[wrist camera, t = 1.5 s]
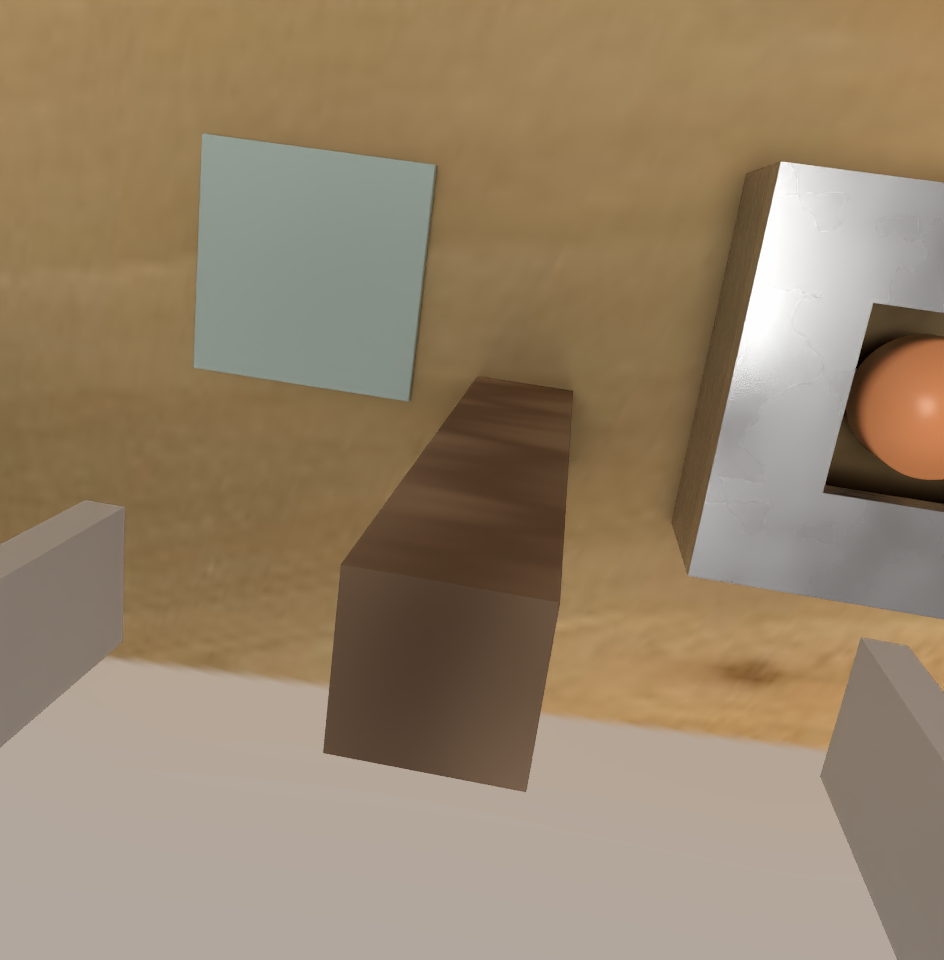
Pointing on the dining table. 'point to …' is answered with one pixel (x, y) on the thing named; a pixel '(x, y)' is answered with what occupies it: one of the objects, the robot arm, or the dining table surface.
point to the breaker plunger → (902, 405)
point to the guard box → (809, 392)
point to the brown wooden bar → (458, 595)
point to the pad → (311, 265)
